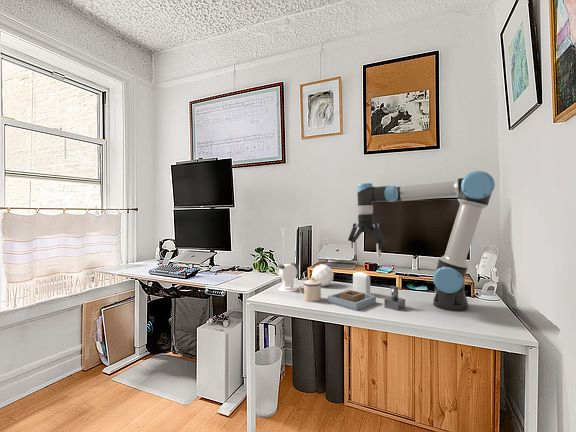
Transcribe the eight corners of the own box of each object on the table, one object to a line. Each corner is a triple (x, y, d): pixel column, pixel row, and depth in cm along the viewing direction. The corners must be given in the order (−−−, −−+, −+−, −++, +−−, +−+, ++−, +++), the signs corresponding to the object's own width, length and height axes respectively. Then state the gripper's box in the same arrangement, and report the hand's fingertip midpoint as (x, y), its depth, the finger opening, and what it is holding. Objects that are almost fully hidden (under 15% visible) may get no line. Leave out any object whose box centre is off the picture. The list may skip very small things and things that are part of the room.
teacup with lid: (323, 298, 168) (323, 276, 168) (317, 302, 160) (317, 280, 160) (302, 295, 173) (302, 274, 173) (296, 300, 165) (296, 277, 165)
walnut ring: (354, 304, 153) (354, 296, 153) (339, 301, 160) (339, 293, 160) (366, 300, 160) (366, 292, 160) (351, 296, 167) (351, 289, 167)
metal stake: (405, 307, 152) (405, 286, 152) (398, 310, 147) (398, 289, 147) (391, 304, 157) (391, 284, 157) (384, 307, 152) (384, 286, 152)
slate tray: (375, 303, 159) (375, 296, 159) (356, 310, 148) (356, 303, 147) (347, 296, 172) (347, 289, 171) (328, 303, 160) (328, 296, 160)
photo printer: (351, 293, 178) (351, 271, 178) (356, 291, 181) (356, 270, 180) (366, 297, 170) (366, 274, 170) (371, 295, 173) (371, 273, 172)
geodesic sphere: (321, 281, 183) (329, 260, 189) (303, 277, 193) (311, 258, 198) (332, 292, 192) (340, 272, 197) (315, 288, 201) (323, 269, 207)
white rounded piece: (289, 285, 196) (289, 261, 195) (302, 289, 187) (301, 264, 186) (274, 288, 188) (274, 263, 188) (286, 292, 179) (286, 266, 179)
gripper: (392, 213, 155) (393, 256, 155) (348, 214, 172) (350, 253, 172) (384, 213, 149) (385, 258, 150) (340, 214, 167) (342, 254, 167)
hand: (366, 255), depth 161 cm, fingers open, 13 cm apart
